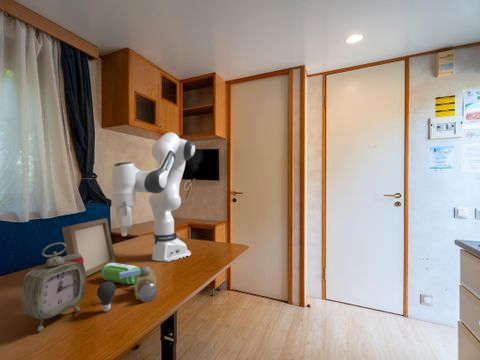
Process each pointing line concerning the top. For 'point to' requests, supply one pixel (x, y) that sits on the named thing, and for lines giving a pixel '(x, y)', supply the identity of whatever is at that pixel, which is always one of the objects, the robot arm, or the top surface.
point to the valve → (145, 286)
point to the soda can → (74, 258)
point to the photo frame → (90, 244)
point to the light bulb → (106, 294)
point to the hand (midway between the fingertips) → (123, 234)
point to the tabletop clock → (53, 287)
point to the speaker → (117, 272)
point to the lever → (135, 272)
